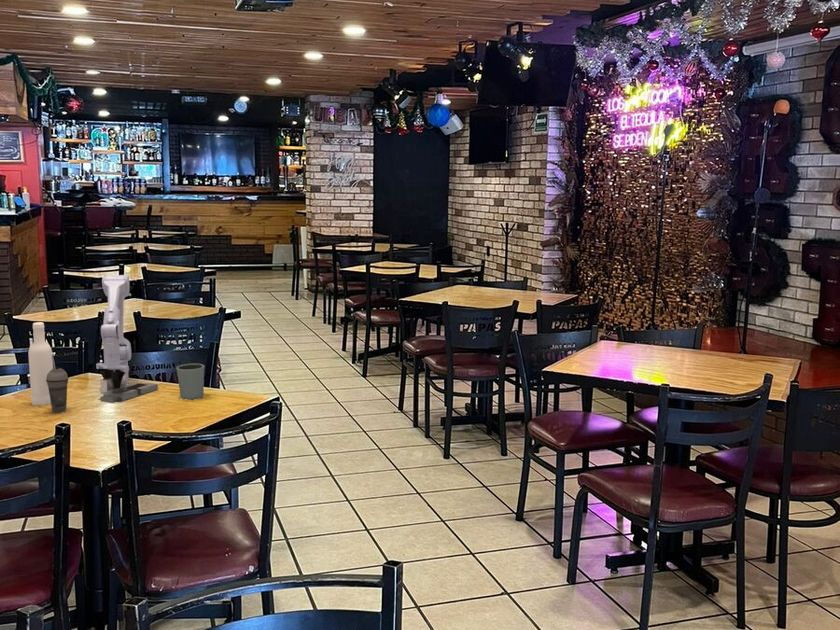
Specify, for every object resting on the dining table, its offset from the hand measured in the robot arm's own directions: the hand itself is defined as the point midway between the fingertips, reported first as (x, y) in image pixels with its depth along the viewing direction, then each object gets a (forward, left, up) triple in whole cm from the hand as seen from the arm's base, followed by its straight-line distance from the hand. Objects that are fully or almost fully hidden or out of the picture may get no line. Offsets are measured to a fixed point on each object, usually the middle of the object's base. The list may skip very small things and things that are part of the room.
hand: (113, 388), depth 310 cm
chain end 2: (+9, +6, -1) cm, 11 cm away
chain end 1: (+9, -7, -1) cm, 12 cm away
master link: (0, 0, -2) cm, 2 cm away
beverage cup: (+1, -28, -2) cm, 28 cm away
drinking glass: (+31, +7, -2) cm, 32 cm away
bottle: (-12, -23, -2) cm, 26 cm away
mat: (+8, -1, -2) cm, 9 cm away
